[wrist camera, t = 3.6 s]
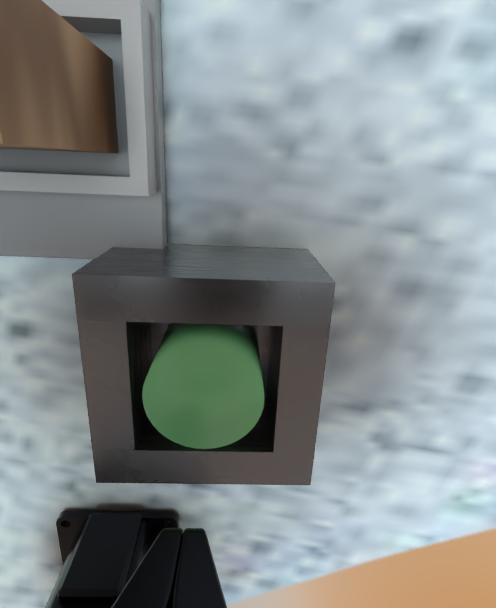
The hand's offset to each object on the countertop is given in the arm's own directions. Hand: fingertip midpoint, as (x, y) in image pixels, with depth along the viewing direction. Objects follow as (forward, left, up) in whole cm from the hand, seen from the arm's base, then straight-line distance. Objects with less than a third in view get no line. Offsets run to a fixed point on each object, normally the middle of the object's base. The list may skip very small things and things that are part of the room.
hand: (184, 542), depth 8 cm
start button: (0, 0, -9) cm, 9 cm away
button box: (0, 0, -11) cm, 11 cm away
